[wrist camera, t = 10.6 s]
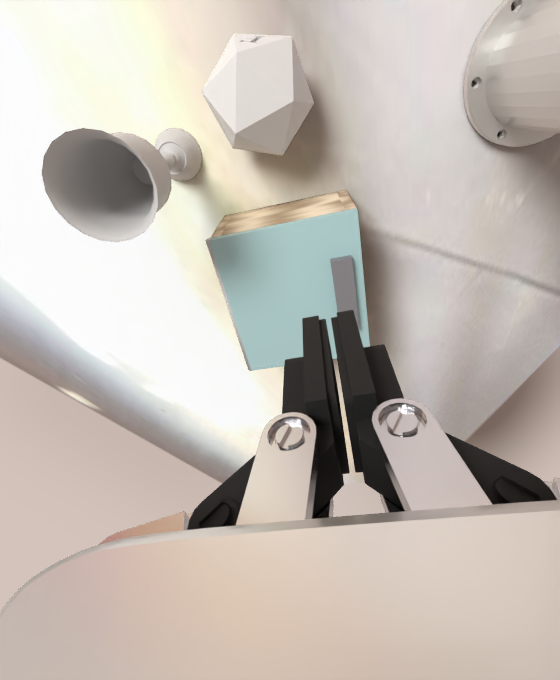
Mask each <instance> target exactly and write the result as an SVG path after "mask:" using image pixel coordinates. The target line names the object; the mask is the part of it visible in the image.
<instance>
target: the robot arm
mask: <svg viewBox="0 0 560 680" xmlns="http://www.w3.org/2000/svg"><path fill="white" fill-rule="evenodd" d="M512 4H514V9H513V10H511V5H512ZM473 80H474V81H475V85H474V86H473V87H472V86H471V83H472V81H473ZM463 93H464V105H465V109H466V112H467V116H468V118H469V120H470V122H471V124H472V126H473V127H474V128H475V130H476V131H477V132H478V133H479V134H480V135H481V136H482V137H484V138H485V139H487V140H488V141H490V142H493V143H496V144H499V145H503V146H509V147H523V146H528V145H532V144H536V143H539V142H541V141H544V140H546V139H549V138H551V137H552V136H554V135H556V134H557V133H560V0H505V1H504V2H503V3H502V4H501V5H500V6H499V7H498V8H497V9H496V11H495V12H494V13H493V15H492V16H491V17H490V18H489V20H488V21H487V22H486V24H485V25H484V27H483V29H482V31H481V32H480V34H479V36H478V38H477V39H476V41H475V44H474V46H473V49H472V51H471V54H470V56H469V59H468V63H467V67H466V71H465V77H464V87H463ZM498 132H500V135H499V136H498V137H497V134H498ZM331 322H332V329H333V335H334V341H335V348H336V354H337V360H338V366H339V373H340V379H341V385H342V392H343V398H344V404H345V410H346V416H347V422H348V429H349V435H350V441H351V447H352V453H353V459H354V465H355V471H356V472H363V474H364V480H365V483H366V484H367V485H368V486H370V487H371V488H373V489H374V490H376V491H377V492H379V493H380V497H381V501H382V504H383V507H384V509H385V512H386V513H380V514H366V515H355V516H342V517H333V496H334V495H335V494H336V493H337V492H338V491H339V490H340V488H341V487H342V486H343V485H344V482H343V474H346V473H349V465H348V458H347V451H346V444H345V437H344V430H343V423H342V416H341V409H340V402H339V395H338V388H337V382H336V376H335V370H334V365H333V359H332V353H331V347H330V341H329V336H328V330H327V324H326V319H320V320H319V316H312V317H306V318H302V327H303V357H298V358H291V359H286V360H285V364H284V386H283V407H282V414H281V415H279V416H277V417H275V418H274V419H272V420H271V421H270V422H269V423H268V424H267V425H266V426H265V428H264V430H263V432H262V435H261V439H260V442H259V446H258V449H257V453H256V455H255V456H253V457H252V458H251V459H250V460H249V461H248V462H247V463H246V464H244V465H243V466H242V467H241V468H240V469H239V470H238V471H236V472H235V473H234V474H233V475H232V476H231V477H230V478H228V479H227V480H226V481H225V482H224V483H223V484H222V485H220V486H219V487H218V488H217V489H216V490H215V491H214V492H213V493H212V494H210V495H209V496H208V497H207V498H206V499H205V500H204V501H202V502H201V503H200V504H199V505H198V507H197V508H196V509H195V510H194V512H193V513H190V514H186V513H185V511H183V512H179V513H176V514H173V515H170V516H167V517H164V518H161V519H158V520H155V521H151V522H148V523H145V524H143V525H139V526H136V527H133V528H130V529H127V530H123V531H120V532H117V533H115V534H113V535H111V536H109V537H107V538H106V539H105V540H104V541H102V542H101V543H100V544H99V545H97V546H94V547H91V548H88V549H85V550H83V551H80V552H78V553H75V554H73V555H71V556H69V557H67V558H65V559H63V560H61V561H59V562H57V563H55V564H53V565H52V566H50V567H48V568H47V569H45V570H43V571H42V572H40V573H39V574H37V575H36V576H34V577H33V578H31V579H30V580H29V581H28V582H26V583H25V584H24V585H23V586H22V587H21V588H20V589H19V590H18V591H17V592H16V593H15V594H14V595H13V596H12V597H11V598H10V600H9V601H8V602H7V603H6V605H5V606H4V607H3V609H2V610H1V611H0V680H560V478H554V480H553V482H545V481H542V480H541V479H540V478H538V477H536V476H535V475H533V474H531V473H530V472H528V471H526V470H524V469H521V468H519V467H517V466H515V465H513V464H511V463H508V462H506V461H504V460H502V459H500V458H498V457H496V456H494V455H492V454H489V453H487V452H485V451H483V450H481V449H479V448H477V447H474V446H473V445H470V444H468V443H466V442H464V441H462V440H460V439H458V438H455V437H453V436H451V435H449V434H447V433H445V432H444V431H443V430H442V428H441V427H440V425H439V424H438V422H437V421H436V419H435V418H434V416H433V415H432V413H431V412H430V411H429V410H428V409H427V408H426V406H424V405H422V404H421V403H419V402H417V401H413V400H410V399H404V397H403V394H402V392H401V389H400V386H399V383H398V381H397V378H396V375H395V372H394V370H393V367H392V364H391V361H390V359H389V356H388V353H387V350H386V348H385V345H384V344H383V345H377V346H370V347H363V344H362V340H361V337H360V333H359V329H358V326H357V322H356V318H355V315H354V311H353V310H348V311H342V312H337V317H332V318H331Z"/></svg>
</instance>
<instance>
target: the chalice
mask: <svg viewBox="0 0 560 680" xmlns="http://www.w3.org/2000/svg"><path fill="white" fill-rule="evenodd" d="M201 164H202V153H201V150H200V146H199V145H198V143H197V141H196V139H195V138H194V137H193V136H192V135H191V134H190V133H188V132H186V131H184V130H182V129H178V128H171V129H166V130H165V131H163V132H162V133H161V134H160V135H159V136H158V138H157V139H156V142H155V147H154V146H153V145H151V144H150V143H149V142H148V141H147V140H145V139H143V138H140V137H138V136H136V135H134V134H128V133H120V132H118V133H112V134H108V133H106V132H104V131H100V130H92V129H84V128H82V129H77V130H73V131H68V132H65V133H64V134H62V135H61V136H59V137H58V138H57V139H55V140H54V141H52V143H51V145H50V146H49V148H48V150H47V152H46V153H45V155H44V160H43V168H42V176H43V181H44V185H45V190H46V193H47V195H48V196H49V198H50V200H51V202H52V204H53V206H54V208H55V209H56V210H57V211H58V213H59V214H60V215H61V216H62V217H63V218H64V219H65V220H66V221H67V222H68V223H69V224H70V225H72V226H73V227H74V228H76V229H77V230H79V231H80V232H82V233H83V234H85V235H88V236H91V237H93V238H96V239H98V240H102V241H111V242H120V241H126V240H131V239H133V238H135V237H137V236H139V235H140V234H142V233H144V232H145V231H146V229H147V228H148V227H149V226H150V225H151V223H152V222H153V220H154V217H155V214H156V212H157V211H159V210H160V209H161V208H162V207H163V205H164V204H165V203H166V202H167V200H168V198H169V195H170V191H171V178H172V179H174V180H178V181H186V180H190V179H192V178H193V177H195V176H196V175H197V173H198V172H199V170H200V168H201Z"/></svg>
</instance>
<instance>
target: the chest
mask: <svg viewBox="0 0 560 680" xmlns="http://www.w3.org/2000/svg"><path fill="white" fill-rule="evenodd" d="M355 208H356V206H355V205H354V203H353V201H352V200H351V198H350V196H349V194H348V193H347V191H346V190H343V191H338V192H333V193H329V194H324V195H319V196H315V197H310V198H306V199H301V200H296V201H292V202H287V203H282V204H278V205H273V206H268V207H264V208H259V209H254V210H250V211H245V212H240V213H236V214H231V215H226V216H224V217H223V219H222V221H221V222H220V224H219V225H218V227H217V228H216V230H215V232H214V233H213V235H212V236H211V238H213V237H218V236H223V235H228V234H233V233H237V232H242V231H247V230H252V229H257V228H262V227H267V226H272V225H277V224H281V223H286V222H291V221H296V220H301V219H306V218H311V217H316V216H321V215H325V214H330V213H335V212H340V211H345V210H350V209H355Z"/></svg>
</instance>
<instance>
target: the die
mask: <svg viewBox="0 0 560 680" xmlns="http://www.w3.org/2000/svg"><path fill="white" fill-rule="evenodd" d="M202 94H203V95H204V97H205V99H206V101H207V103H208V104H209V106H210V108H211V110H212V112H213V114H214V115H215V117H216V119H217V121H218V123H219V124H220V126H221V128H222V130H223V132H224V133H225V135H226V137H227V139H228V141H229V142H230V144H231V146H232V148H235V149H241V150H248V151H255V152H261V153H268V154H275V155H282V156H283V154H284V152H285V151H286V149H287V147H288V146H289V144H290V143H291V141H292V139H293V138H294V136H295V134H296V133H297V131H298V129H299V128H300V126H301V124H302V123H303V121H304V119H305V118H306V116H307V115H308V113H309V111H310V110H311V108H312V106H313V105H314V101H313V98H312V95H311V92H310V89H309V86H308V83H307V80H306V77H305V74H304V71H303V68H302V65H301V62H300V59H299V56H298V53H297V50H296V47H295V44H294V41H293V38H292V36H277V35H255V34H233V36H232V38H231V39H230V41H229V43H228V45H227V47H226V48H225V50H224V52H223V54H222V56H221V57H220V59H219V61H218V63H217V65H216V66H215V68H214V70H213V72H212V74H211V75H210V77H209V79H208V81H207V83H206V85H205V86H204V88H203V90H202Z"/></svg>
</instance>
